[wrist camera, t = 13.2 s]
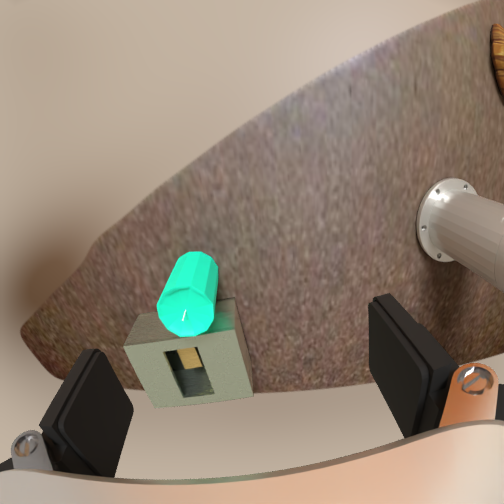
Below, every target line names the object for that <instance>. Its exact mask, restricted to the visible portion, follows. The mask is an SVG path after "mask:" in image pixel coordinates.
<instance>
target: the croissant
mask: <svg viewBox="0 0 504 504" xmlns="http://www.w3.org/2000/svg"><path fill="white" fill-rule="evenodd" d="M490 39H491V58H492V62H493V65H494V69H495V75H496V79H497V83H498V87H499V89H500V92H501V94H502V95H503V96H504V29H503V27H502V26H501V25H499V24H493V25H492V28H491V37H490Z"/></svg>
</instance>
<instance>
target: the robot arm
mask: <svg viewBox="0 0 504 504" xmlns="http://www.w3.org/2000/svg"><path fill="white" fill-rule="evenodd" d="M416 223H417V236H418V240H419V242H420V245H421V247H422V248H423V250H424V251H425V252H426V253H427V254H428V255H429V256H430V257H432V258H433V259H435V260H437V261H440V262H451V261H454V260H456V261H457V262H459V263H460V264H462V265H463V266H465V267H467V268H468V269H470V270H471V271H473V272H474V273H476V274H477V275H479V276H480V277H482V278H483V279H484V280H486V281H487V282H489V283H490V284H492V285H493V286H495V287H496V288H497V289H499V290H500V291H502V292H503V293H504V204H502V203H499V202H496V201H493V200H490V199H487V198H484V197H480V196H478V195H477V193H476V191H475V190H474V188H473V187H472V186H471V185H470V184H469V183H467V182H466V181H464V180H461V179H457V178H446V179H443V180H441V181H439V182H437V183H436V184H434V185H433V186H432V187H431V188H430V189H429V190H428V192H427V193H426V195H425V196H424V198H423V200H422V202H421V204H420V207H419V210H418V215H417V221H416ZM368 312H369V368H370V372H371V374H372V376H373V378H374V380H375V381H376V383H377V385H378V387H379V389H380V391H381V393H382V395H383V397H384V399H385V401H386V402H387V404H388V406H389V408H390V410H391V412H392V414H393V416H394V418H395V420H396V422H397V424H398V426H399V428H400V430H401V432H402V434H403V436H404V439H401V440H398V441H395V442H392V443H389V444H386V445H383V446H380V447H377V448H374V449H370V450H366V451H363V452H359V453H356V454H352V455H348V456H344V457H340V458H336V459H333V460H328V461H324V462H320V463H315V464H311V465H306V466H301V467H296V468H290V469H285V470H279V471H272V472H265V473H258V474H250V475H242V476H233V477H222V478H207V479H184V480H147V479H146V480H145V479H124V478H114V477H115V473H116V469H117V466H118V462H119V459H120V455H121V451H122V448H123V445H124V441H125V438H126V435H127V432H128V428H129V425H130V422H131V419H132V416H133V412H134V411H133V405H132V403H131V401H130V399H129V398H128V396H127V394H126V393H125V391H124V389H123V387H122V385H121V383H120V382H119V380H118V378H117V376H116V374H115V372H114V370H113V369H112V367H111V365H110V363H109V361H108V359H107V357H106V355H105V354H104V353H103V352H101V351H100V350H99V349H87V350H83V351H82V353H81V354H80V356H79V357H78V359H77V361H76V362H75V364H74V365H73V367H72V369H71V370H70V372H69V374H68V375H67V377H66V379H65V380H64V382H63V384H62V385H61V387H60V389H59V390H58V392H57V394H56V395H55V397H54V399H53V401H52V402H51V404H50V406H49V408H48V409H47V411H46V413H45V415H44V417H43V418H42V420H41V422H40V424H39V426H40V427H41V429H42V430H43V433H42V434H40V433H39V432H38V431H35V430H30V431H26V432H23V433H22V434H21V435H19V436H18V437H17V438H16V439H15V440H14V442H13V443H12V446H11V455H12V458H10V459H8V460H6V461H4V462H3V463H1V464H0V504H504V384H498V383H499V382H498V376H497V374H496V373H495V371H494V370H493V369H491V368H490V367H488V366H486V365H484V364H480V363H469V364H465V365H463V366H461V367H459V366H458V365H457V364H456V362H455V361H454V360H453V359H452V358H451V356H450V355H449V354H448V353H447V352H446V351H445V350H444V348H443V347H442V346H441V345H440V344H439V343H438V342H437V340H436V339H435V338H434V337H433V336H432V335H431V334H430V332H429V331H428V330H427V329H426V328H425V327H424V326H423V325H422V324H419V323H417V322H416V321H415V320H414V319H413V318H412V317H411V316H410V314H409V313H408V312H407V311H406V310H405V309H404V308H403V307H402V306H401V305H400V303H399V302H398V301H397V300H396V299H395V298H394V297H393V296H392V295H391V294H390V293H388V294H384V295H381V296H377V297H374V298H373V302H371V303H369V305H368Z"/></svg>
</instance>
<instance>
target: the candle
mask: <svg viewBox="0 0 504 504" xmlns="http://www.w3.org/2000/svg"><path fill="white" fill-rule="evenodd" d="M217 287H218V266H217V265H216V263H215V262H214V260H213V259H212V257H210V256H208V255H206V254H204V253H202V252H188V253H186V254H184V255H183V256H181V257H179V259H178V261H177V263H176V265H175V267H174V269H173V271H172V273H171V275H170V277H169V279H168V281H167V284H166V286H165V288H164V290H163V292H162V294H161V297H160V299H159V301H158V303H157V310H158V315H159V318H160V320H161V321H162V323H163V324H164V325H165V327H166V328H167V329H168V330H169V331H171V332H173V333H174V334H176V335H178V336H179V337H190V336H196V335H199V334H201V333H203V332H205V331H207V330H208V328H209V326H210V325H211V323H212V321H213V319H214V313H215V304H216V295H217Z"/></svg>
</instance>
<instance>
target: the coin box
mask: <svg viewBox="0 0 504 504" xmlns="http://www.w3.org/2000/svg"><path fill="white" fill-rule="evenodd" d="M123 347H124V349H125V351H126V353H127V356H128V358H129V360H130V362H131V364H132V366H133V368H134V370H135V372H136V374H137V376H138V378H139V380H140V382H141V384H142V386H143V387H144V389H145V391H146V393H147V395H148V396H149V399H150V400H151V402H152V404H153V406H154V408H163V407H175V406H186V405H195V404H204V403H212V402H220V401H227V400H234V399H241V398H247V397H252V396H254V393H253V380H252V367H251V358H250V354H249V351H248V347H247V343H246V339H245V335H244V332H243V328H242V324H241V320H240V316H239V312H238V308H237V305H236V301H235V297H233V298H228V299H223V300H217V301H216V304H215V313H214V319H213V321H212V323H211V325H210V326H209V328H208V330H207V331H205V332H203V333H201V334H199V335H196V336H190V337H179V336H178V335H176V334H174V333H173V332H171V331H169V330H168V329H167V328H166V327H165V325H164V324H163V323H162V321H161V320H160V318H159V315H158V311H157V312H151V313H145V314H139V316H138V318H137V320H136V322H135V324H134V326H133V328H132V330H131V332H130V334H129V336H128V338H127V340H126V342H125V344H124V346H123ZM192 347H198V350H199V353H200V356H201V358H202V361H203V365H202V367H196V368H190V369H185V368H184V365H183V363H182V361H181V359H180V356H179V354H178V352H177V350H178V349H185V348H192Z"/></svg>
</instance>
